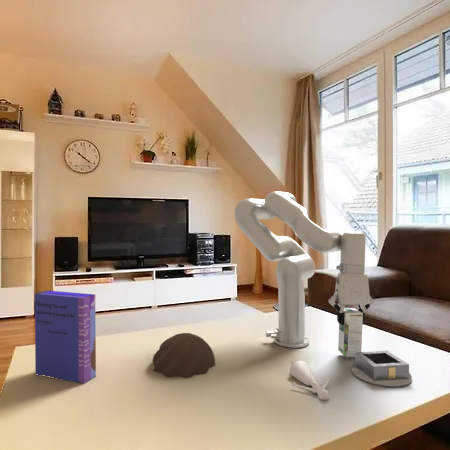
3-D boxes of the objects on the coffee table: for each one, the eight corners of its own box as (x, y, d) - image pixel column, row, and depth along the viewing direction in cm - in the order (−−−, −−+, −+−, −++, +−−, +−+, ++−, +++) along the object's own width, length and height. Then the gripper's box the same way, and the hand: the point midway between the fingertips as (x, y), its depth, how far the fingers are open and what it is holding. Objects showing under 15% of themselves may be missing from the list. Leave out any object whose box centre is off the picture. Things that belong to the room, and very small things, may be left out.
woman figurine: (313, 355, 108) (347, 386, 90) (313, 369, 108) (347, 403, 91) (277, 359, 105) (305, 392, 87) (277, 373, 105) (305, 409, 88)
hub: (369, 389, 95) (370, 371, 95) (342, 365, 111) (342, 349, 111) (424, 385, 97) (424, 367, 97) (389, 362, 113) (389, 347, 113)
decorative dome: (225, 359, 116) (225, 328, 116) (193, 384, 98) (193, 348, 98) (176, 349, 125) (176, 321, 125) (138, 371, 107) (138, 337, 107)
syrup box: (337, 350, 120) (338, 307, 119) (354, 350, 120) (355, 307, 120) (344, 357, 114) (345, 312, 114) (362, 357, 115) (363, 312, 114)
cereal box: (95, 376, 103) (95, 293, 103) (84, 383, 98) (83, 297, 98) (48, 368, 109) (47, 289, 108) (35, 374, 104) (34, 292, 104)
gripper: (332, 271, 111) (330, 328, 112) (383, 270, 114) (381, 326, 114) (322, 267, 119) (320, 321, 120) (370, 267, 121) (368, 319, 122)
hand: (350, 323), depth 117 cm, fingers closed on syrup box, 5 cm apart
